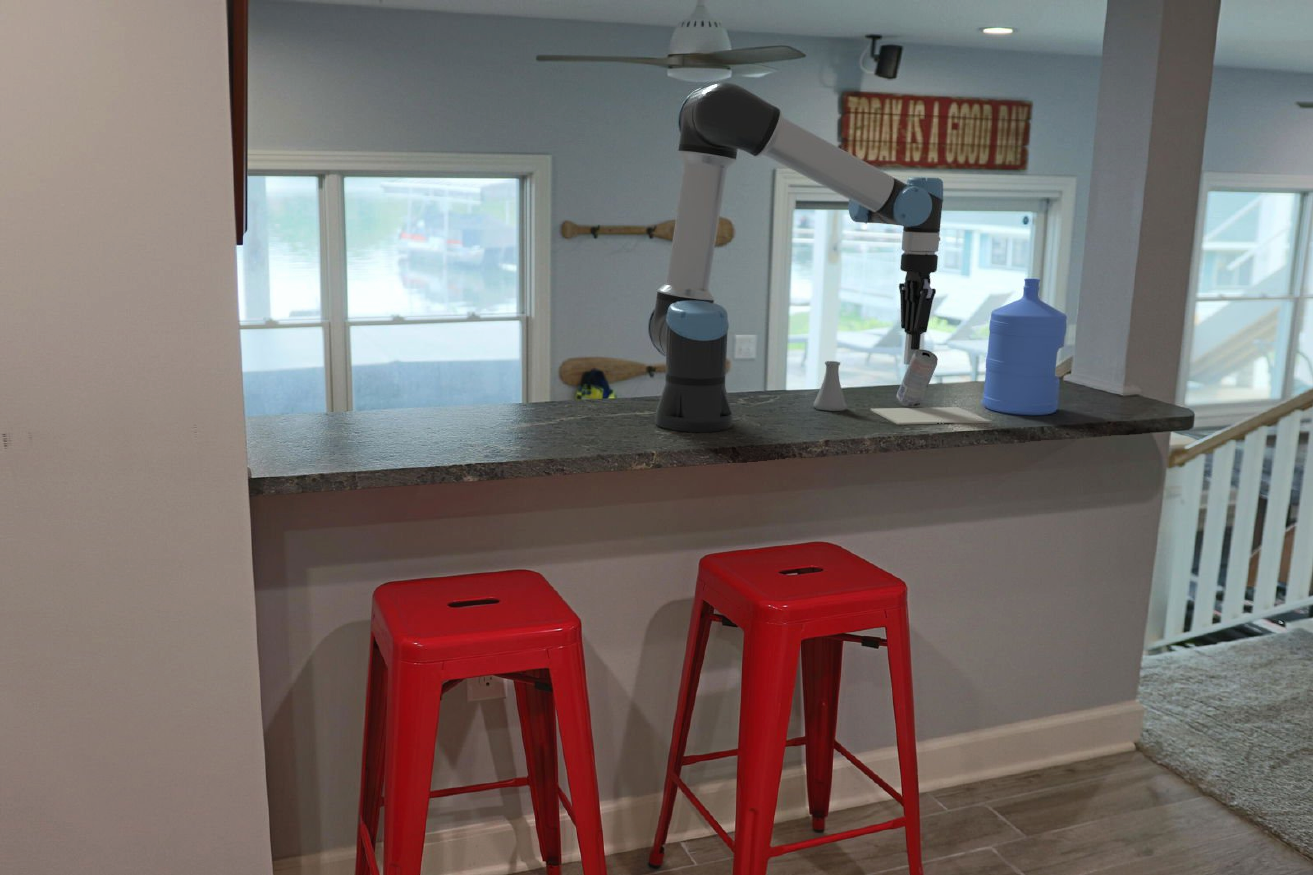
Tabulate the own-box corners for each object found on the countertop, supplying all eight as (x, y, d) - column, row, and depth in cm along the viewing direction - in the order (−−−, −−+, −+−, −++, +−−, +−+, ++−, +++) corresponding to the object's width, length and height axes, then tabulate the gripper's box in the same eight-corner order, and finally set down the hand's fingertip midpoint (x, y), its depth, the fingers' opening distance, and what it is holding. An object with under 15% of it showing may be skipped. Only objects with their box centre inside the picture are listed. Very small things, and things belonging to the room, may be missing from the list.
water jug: (1013, 418, 230) (1027, 282, 224) (966, 403, 244) (978, 276, 238) (1073, 414, 236) (1088, 282, 229) (1024, 400, 250) (1036, 275, 244)
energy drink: (920, 396, 241) (939, 353, 233) (919, 411, 237) (938, 367, 229) (896, 389, 241) (914, 346, 234) (895, 404, 237) (913, 359, 230)
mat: (898, 424, 221) (898, 422, 220) (870, 410, 234) (870, 408, 234) (989, 422, 225) (989, 420, 225) (957, 408, 238) (957, 407, 238)
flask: (845, 406, 238) (848, 360, 236) (848, 412, 231) (851, 365, 229) (812, 404, 239) (814, 358, 237) (813, 411, 232) (816, 364, 230)
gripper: (950, 255, 226) (941, 368, 232) (922, 250, 239) (913, 359, 244) (916, 254, 225) (907, 369, 230) (890, 250, 237) (882, 359, 242)
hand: (910, 363), depth 237 cm, fingers closed
